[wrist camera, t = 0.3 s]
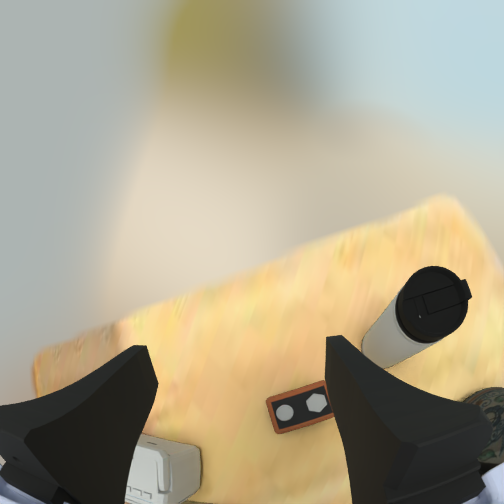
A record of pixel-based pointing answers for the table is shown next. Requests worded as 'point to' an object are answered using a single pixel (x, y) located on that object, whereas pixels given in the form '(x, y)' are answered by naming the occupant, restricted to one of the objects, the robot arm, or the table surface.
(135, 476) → the stereo radio cassette player
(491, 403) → the beer stein
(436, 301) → the travel mug
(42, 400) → the robot arm
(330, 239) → the table surface
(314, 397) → the battery
